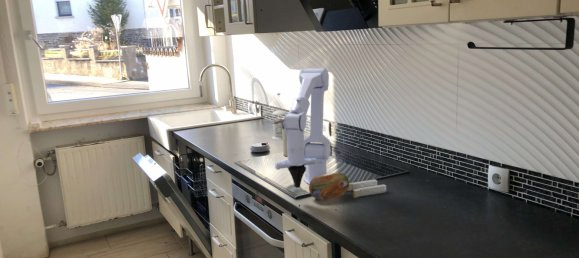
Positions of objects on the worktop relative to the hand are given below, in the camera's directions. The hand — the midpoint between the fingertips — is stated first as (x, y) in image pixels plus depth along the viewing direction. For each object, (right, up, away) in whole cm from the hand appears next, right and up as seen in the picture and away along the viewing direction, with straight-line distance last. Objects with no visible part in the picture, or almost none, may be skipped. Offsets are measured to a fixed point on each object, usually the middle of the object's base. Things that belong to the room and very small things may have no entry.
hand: (297, 186), depth 166 cm
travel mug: (-2, +7, +65) cm, 65 cm away
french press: (-7, +15, +104) cm, 106 cm away
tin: (+11, -4, +5) cm, 13 cm away
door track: (+25, -3, +9) cm, 26 cm away
